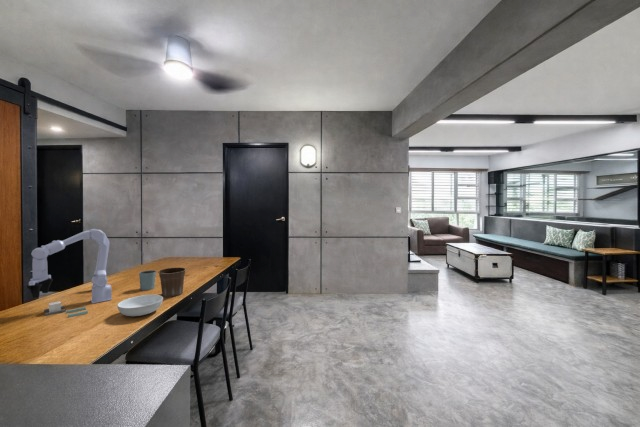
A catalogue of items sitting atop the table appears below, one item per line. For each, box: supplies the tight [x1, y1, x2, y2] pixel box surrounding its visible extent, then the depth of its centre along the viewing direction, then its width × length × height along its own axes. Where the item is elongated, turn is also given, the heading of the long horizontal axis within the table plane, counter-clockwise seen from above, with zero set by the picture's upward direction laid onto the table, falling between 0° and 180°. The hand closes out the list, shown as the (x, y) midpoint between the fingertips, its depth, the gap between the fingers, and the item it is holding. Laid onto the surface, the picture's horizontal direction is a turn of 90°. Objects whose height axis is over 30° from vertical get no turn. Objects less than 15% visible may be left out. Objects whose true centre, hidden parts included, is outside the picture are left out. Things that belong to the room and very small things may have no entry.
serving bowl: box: [117, 294, 164, 317], centre depth 150 cm, size 21×21×7 cm
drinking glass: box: [138, 269, 157, 291], centre depth 194 cm, size 10×10×12 cm
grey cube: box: [48, 300, 62, 313], centre depth 151 cm, size 4×5×5 cm
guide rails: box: [43, 305, 89, 318], centre depth 150 cm, size 16×20×1 cm
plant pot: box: [157, 267, 187, 298], centre depth 182 cm, size 16×16×16 cm
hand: (40, 295), depth 149 cm, fingers open, 7 cm apart
